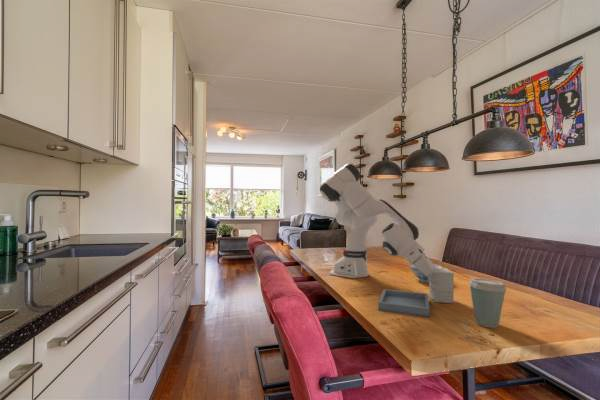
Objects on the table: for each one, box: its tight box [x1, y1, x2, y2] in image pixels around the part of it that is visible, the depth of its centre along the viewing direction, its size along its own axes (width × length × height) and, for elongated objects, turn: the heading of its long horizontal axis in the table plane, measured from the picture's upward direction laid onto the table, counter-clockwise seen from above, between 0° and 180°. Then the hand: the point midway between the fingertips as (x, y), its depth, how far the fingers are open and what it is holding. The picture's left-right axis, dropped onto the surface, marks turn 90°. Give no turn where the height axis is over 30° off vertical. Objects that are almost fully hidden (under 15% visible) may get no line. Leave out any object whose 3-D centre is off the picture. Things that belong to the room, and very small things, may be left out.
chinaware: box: [410, 263, 443, 283], centre depth 148 cm, size 15×15×8 cm
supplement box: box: [428, 268, 455, 304], centre depth 119 cm, size 7×7×13 cm
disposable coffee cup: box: [468, 277, 507, 329], centre depth 95 cm, size 11×11×15 cm
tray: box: [378, 288, 431, 318], centre depth 113 cm, size 18×18×3 cm
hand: (439, 277), depth 118 cm, fingers closed on supplement box, 8 cm apart
